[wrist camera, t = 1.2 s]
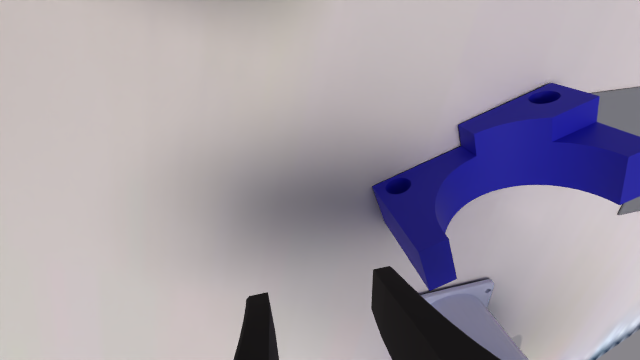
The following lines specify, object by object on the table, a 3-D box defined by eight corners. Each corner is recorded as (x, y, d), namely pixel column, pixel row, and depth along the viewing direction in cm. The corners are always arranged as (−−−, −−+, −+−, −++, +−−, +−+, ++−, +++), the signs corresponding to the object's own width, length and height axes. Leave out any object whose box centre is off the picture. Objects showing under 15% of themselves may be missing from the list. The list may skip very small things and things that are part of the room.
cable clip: (551, 82, 19) (665, 114, 14) (549, 146, 21) (647, 193, 16) (365, 167, 19) (411, 229, 14) (384, 221, 21) (429, 290, 16)
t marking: (655, 206, 28) (656, 207, 28) (479, 244, 25) (480, 244, 25) (779, -10, 20) (781, -10, 20) (540, 8, 17) (541, 8, 17)
